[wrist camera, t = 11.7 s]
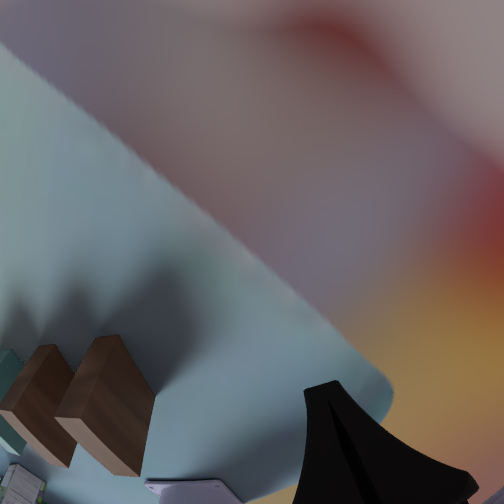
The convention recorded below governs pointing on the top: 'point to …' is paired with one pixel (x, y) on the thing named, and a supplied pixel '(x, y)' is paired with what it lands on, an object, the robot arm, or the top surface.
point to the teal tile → (3, 375)
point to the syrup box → (21, 487)
